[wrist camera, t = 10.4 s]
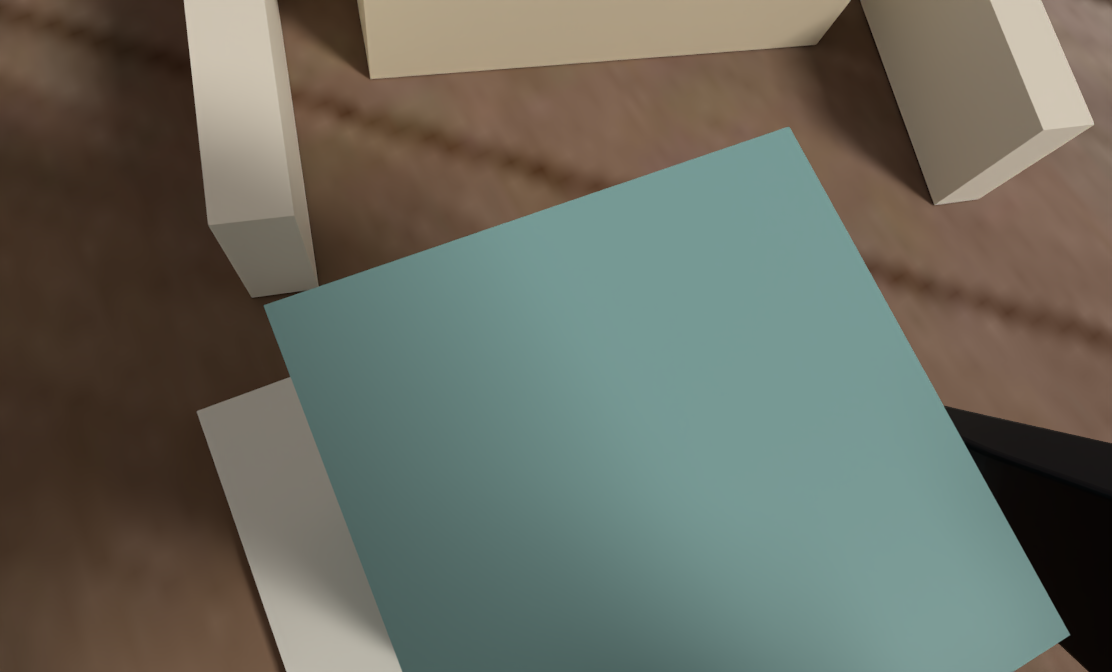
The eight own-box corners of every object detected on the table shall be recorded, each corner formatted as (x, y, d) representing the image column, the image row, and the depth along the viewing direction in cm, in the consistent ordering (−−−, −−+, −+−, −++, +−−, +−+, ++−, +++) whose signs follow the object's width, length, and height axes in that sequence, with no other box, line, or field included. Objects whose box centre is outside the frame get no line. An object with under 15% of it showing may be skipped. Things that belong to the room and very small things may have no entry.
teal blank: (632, 587, 17) (1069, 634, 6) (443, 684, 16) (521, 986, 4) (550, 403, 18) (789, 126, 7) (364, 480, 17) (263, 305, 5)
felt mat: (785, 648, 18) (791, 649, 17) (363, 886, 15) (362, 892, 15) (603, 265, 19) (605, 261, 19) (199, 413, 17) (196, 410, 16)
